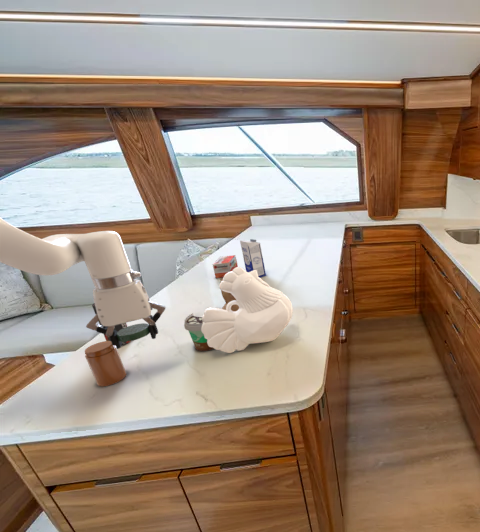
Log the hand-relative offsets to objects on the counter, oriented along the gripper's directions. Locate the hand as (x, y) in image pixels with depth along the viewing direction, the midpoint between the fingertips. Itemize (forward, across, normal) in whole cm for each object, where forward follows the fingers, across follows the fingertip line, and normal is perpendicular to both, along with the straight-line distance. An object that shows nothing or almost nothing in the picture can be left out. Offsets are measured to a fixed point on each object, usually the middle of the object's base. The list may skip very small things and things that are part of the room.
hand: (137, 340), depth 81 cm
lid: (-3, 0, 0) cm, 3 cm away
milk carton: (+11, -41, -66) cm, 78 cm away
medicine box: (+11, -29, -82) cm, 88 cm away
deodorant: (+11, +9, -26) cm, 30 cm away
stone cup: (+11, -27, -27) cm, 40 cm away
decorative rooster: (+11, -28, +1) cm, 30 cm away
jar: (+10, +8, -3) cm, 14 cm away
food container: (+11, -14, -5) cm, 18 cm away
